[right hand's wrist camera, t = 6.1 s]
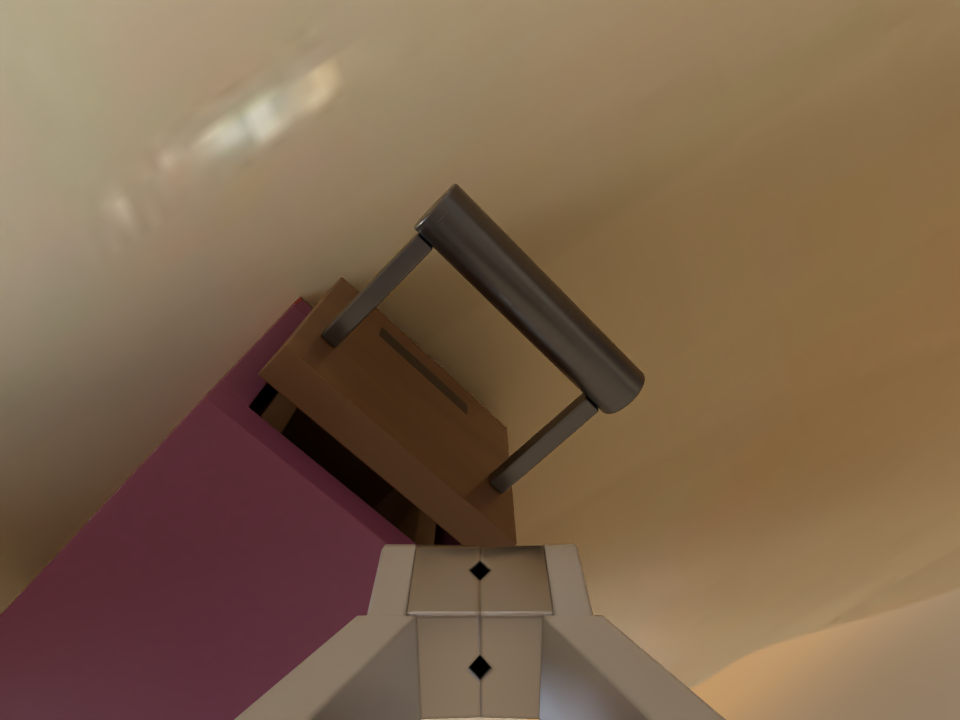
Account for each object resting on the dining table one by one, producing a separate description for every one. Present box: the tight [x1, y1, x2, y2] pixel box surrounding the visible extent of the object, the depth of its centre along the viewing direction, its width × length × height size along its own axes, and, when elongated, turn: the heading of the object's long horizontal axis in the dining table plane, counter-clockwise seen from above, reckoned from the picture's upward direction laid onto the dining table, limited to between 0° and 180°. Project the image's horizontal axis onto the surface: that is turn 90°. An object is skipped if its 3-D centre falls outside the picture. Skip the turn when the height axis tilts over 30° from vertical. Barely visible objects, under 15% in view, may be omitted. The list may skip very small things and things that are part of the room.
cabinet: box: [0, 297, 462, 720], centre depth 25 cm, size 20×10×10 cm, turn 135°
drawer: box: [251, 184, 645, 546], centre depth 24 cm, size 25×9×8 cm, turn 135°
